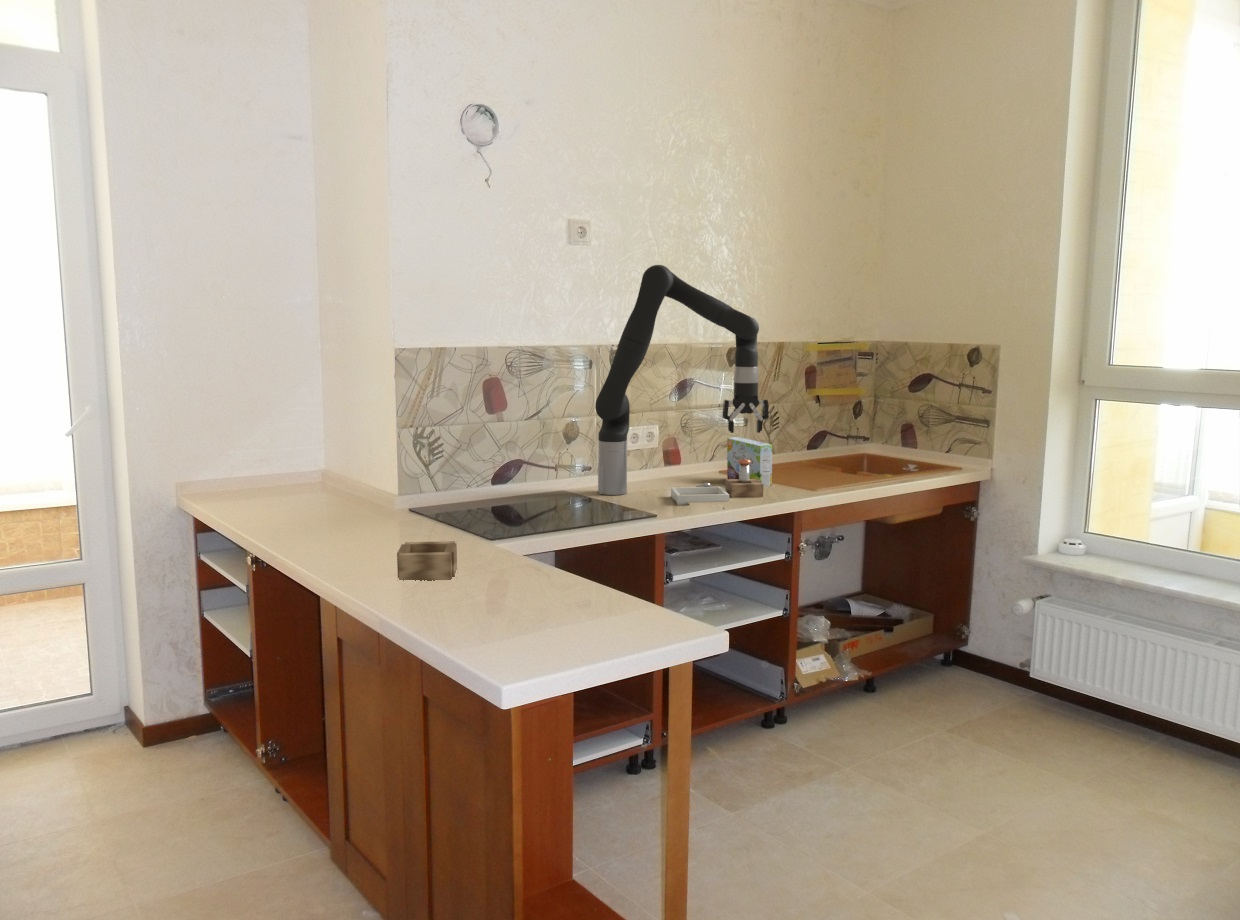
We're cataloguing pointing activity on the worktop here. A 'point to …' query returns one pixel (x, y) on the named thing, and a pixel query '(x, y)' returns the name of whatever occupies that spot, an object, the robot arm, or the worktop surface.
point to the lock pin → (744, 470)
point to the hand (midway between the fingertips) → (745, 432)
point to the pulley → (706, 485)
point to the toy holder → (427, 560)
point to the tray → (713, 495)
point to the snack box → (754, 452)
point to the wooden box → (744, 488)
